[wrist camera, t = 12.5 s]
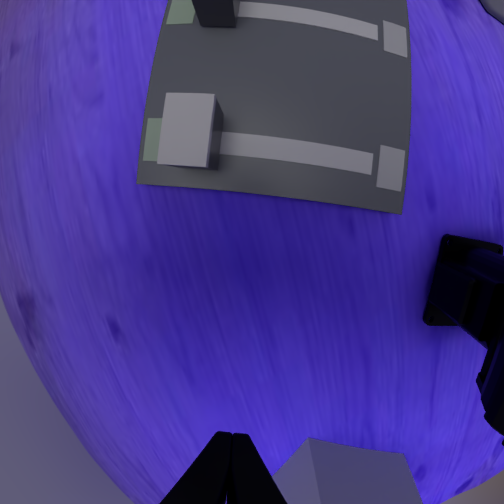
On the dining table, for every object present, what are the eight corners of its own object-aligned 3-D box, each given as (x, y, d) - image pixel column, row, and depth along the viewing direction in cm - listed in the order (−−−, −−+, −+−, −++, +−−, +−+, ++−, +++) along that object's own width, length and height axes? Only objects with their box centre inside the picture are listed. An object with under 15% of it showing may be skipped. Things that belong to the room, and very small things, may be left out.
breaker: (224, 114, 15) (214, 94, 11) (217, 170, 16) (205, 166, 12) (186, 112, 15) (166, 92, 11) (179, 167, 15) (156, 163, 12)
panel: (390, -49, 13) (396, -59, 11) (391, 211, 18) (402, 214, 16) (201, -76, 13) (198, -87, 11) (145, 183, 17) (135, 183, 16)
